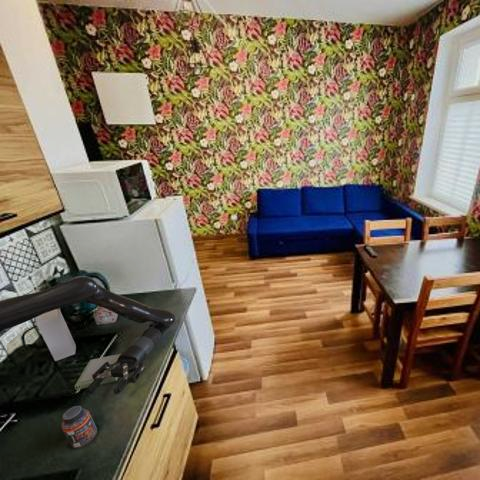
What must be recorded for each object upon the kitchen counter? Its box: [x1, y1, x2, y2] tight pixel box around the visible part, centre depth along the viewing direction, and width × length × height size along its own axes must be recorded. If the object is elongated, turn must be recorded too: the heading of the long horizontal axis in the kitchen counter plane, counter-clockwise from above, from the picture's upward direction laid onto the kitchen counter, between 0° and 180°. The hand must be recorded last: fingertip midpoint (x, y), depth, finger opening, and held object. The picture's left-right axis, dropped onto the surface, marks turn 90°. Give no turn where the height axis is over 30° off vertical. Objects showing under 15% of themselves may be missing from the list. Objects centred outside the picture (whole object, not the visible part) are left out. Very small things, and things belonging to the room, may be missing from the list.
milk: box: [35, 309, 77, 362], centre depth 102 cm, size 6×6×22 cm
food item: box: [93, 306, 119, 326], centre depth 125 cm, size 14×8×10 cm, turn 28°
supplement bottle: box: [61, 405, 98, 449], centre depth 76 cm, size 6×6×11 cm
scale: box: [74, 353, 122, 391], centre depth 98 cm, size 12×12×3 cm
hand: (102, 392), depth 83 cm, fingers open, 8 cm apart
